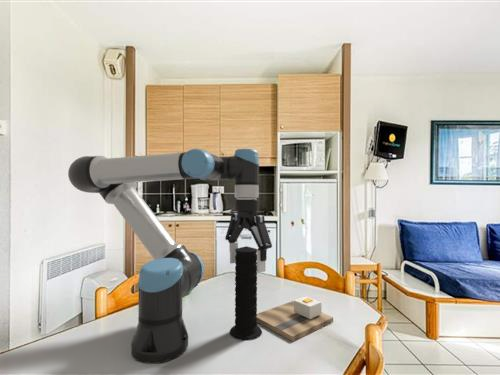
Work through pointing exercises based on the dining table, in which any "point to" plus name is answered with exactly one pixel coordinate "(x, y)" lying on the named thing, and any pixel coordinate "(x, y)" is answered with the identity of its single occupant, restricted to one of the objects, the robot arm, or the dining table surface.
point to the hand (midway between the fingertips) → (246, 267)
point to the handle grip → (246, 295)
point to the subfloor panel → (291, 321)
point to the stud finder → (307, 307)
